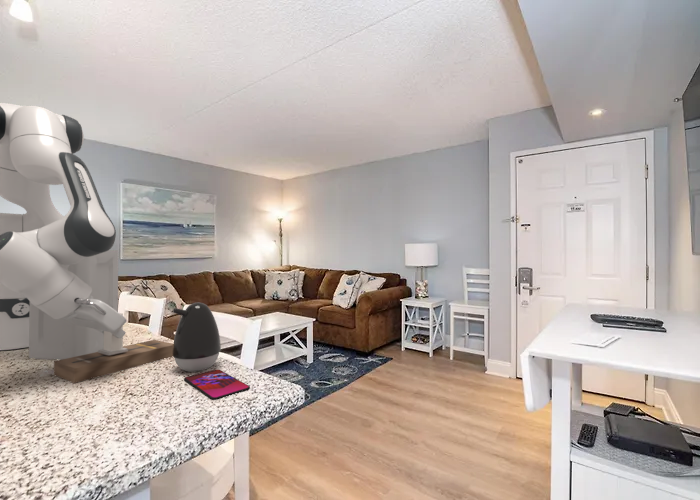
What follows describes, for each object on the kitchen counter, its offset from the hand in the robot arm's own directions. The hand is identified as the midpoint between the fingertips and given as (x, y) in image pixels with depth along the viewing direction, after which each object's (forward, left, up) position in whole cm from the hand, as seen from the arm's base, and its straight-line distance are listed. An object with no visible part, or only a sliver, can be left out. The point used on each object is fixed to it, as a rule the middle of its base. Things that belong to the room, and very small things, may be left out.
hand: (116, 334), depth 81 cm
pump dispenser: (+16, +13, -8) cm, 22 cm away
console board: (0, +1, -7) cm, 7 cm away
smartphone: (+29, +12, -8) cm, 32 cm away
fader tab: (0, -1, -4) cm, 4 cm away
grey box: (-20, -5, -8) cm, 22 cm away
